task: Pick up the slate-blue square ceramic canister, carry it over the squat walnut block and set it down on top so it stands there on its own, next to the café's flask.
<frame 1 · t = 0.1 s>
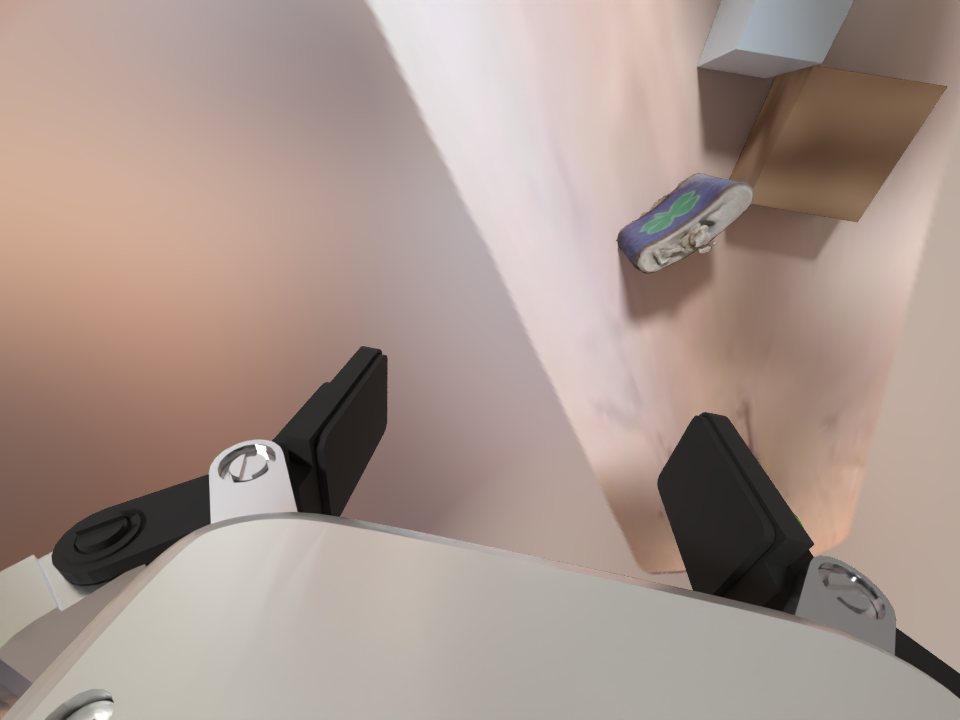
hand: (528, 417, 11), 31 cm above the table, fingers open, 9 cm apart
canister: (749, 27, 28), on the table
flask: (659, 214, 36), on the table
block: (797, 148, 32), on the table
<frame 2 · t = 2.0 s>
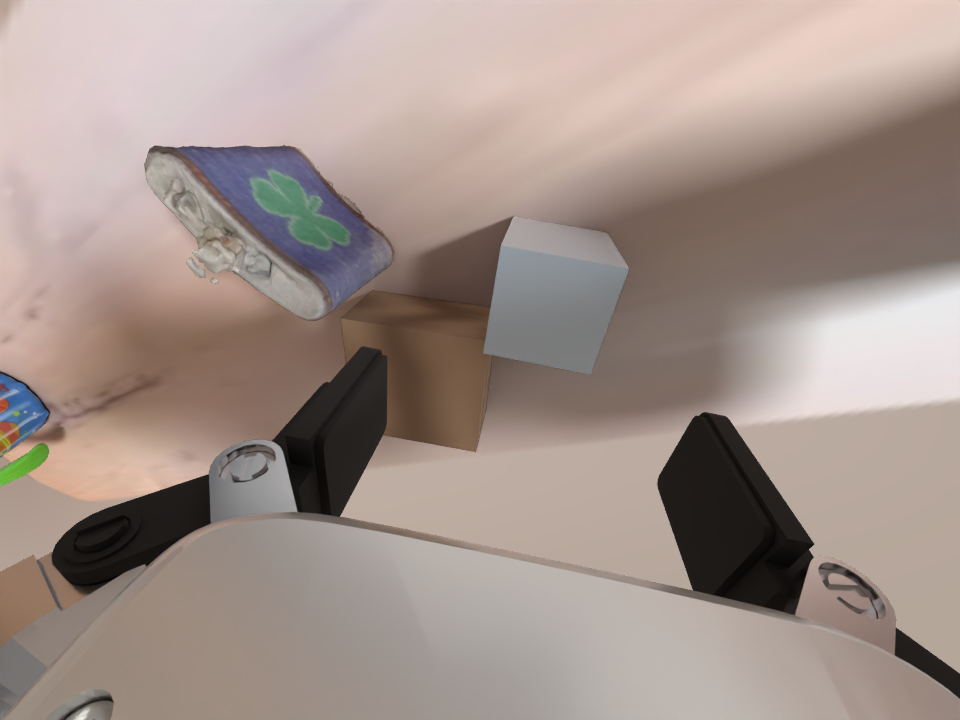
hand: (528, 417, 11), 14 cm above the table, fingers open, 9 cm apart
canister: (549, 269, 23), on the table
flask: (337, 211, 24), on the table
snack cup: (19, 395, 39), on the table
block: (434, 352, 28), on the table
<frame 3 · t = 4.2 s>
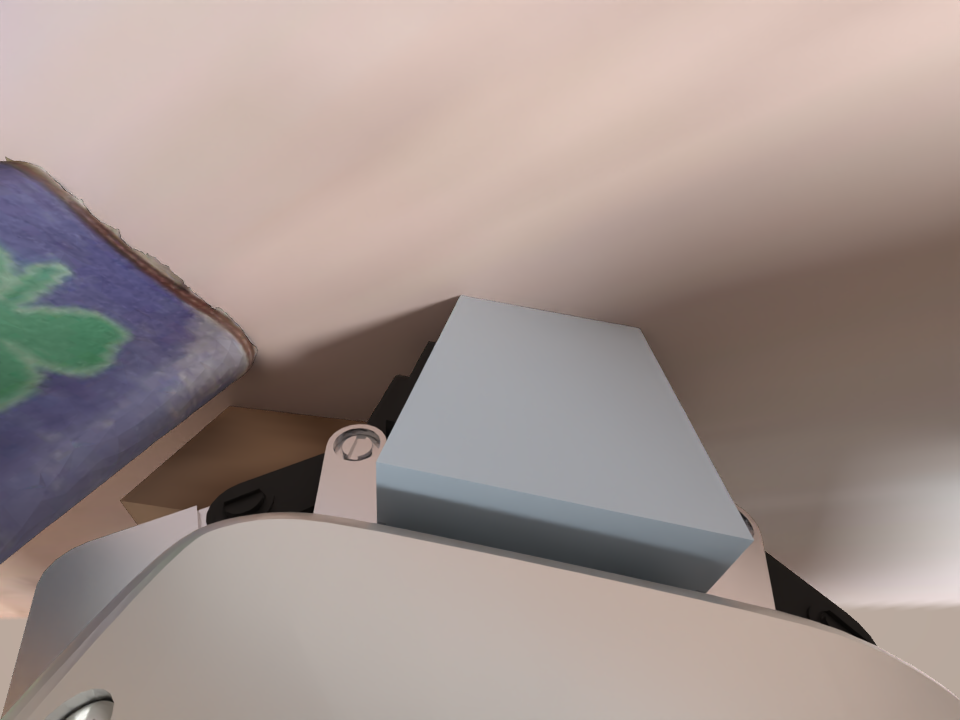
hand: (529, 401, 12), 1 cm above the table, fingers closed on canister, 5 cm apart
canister: (530, 384, 13), on the table, touching gripper
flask: (145, 277, 13), on the table
block: (350, 487, 18), on the table
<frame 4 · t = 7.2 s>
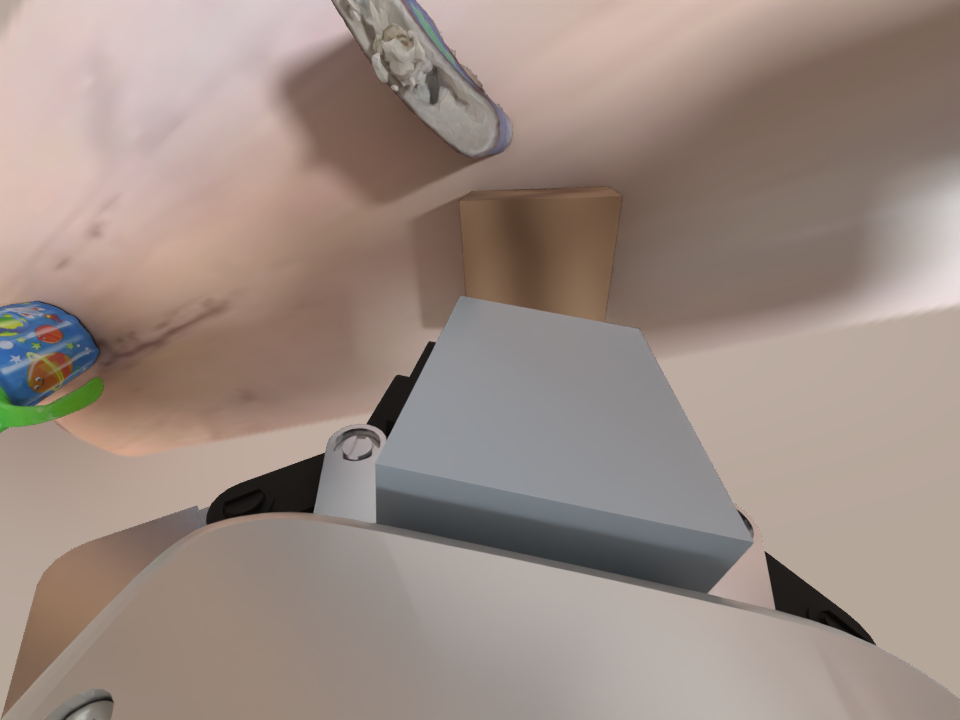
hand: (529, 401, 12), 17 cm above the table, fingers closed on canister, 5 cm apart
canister: (529, 385, 13), point 16 cm above the table, touching gripper
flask: (455, 87, 22), on the table
snack cup: (67, 332, 37), on the table
block: (536, 255, 27), on the table
when the fingers open (6 cm above the table, at t = 10.4 s): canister stays where it is, resting on block.
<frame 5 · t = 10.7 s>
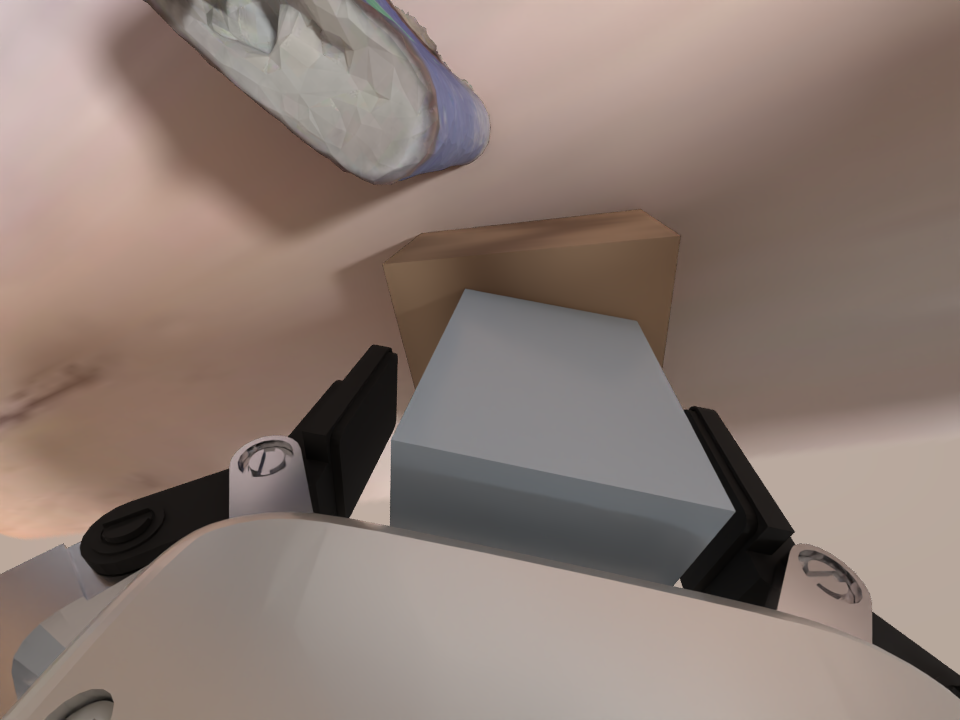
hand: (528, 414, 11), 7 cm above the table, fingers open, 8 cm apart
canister: (531, 375, 13), point 5 cm above the table, touching block
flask: (390, 50, 13), on the table
block: (531, 318, 18), on the table, touching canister
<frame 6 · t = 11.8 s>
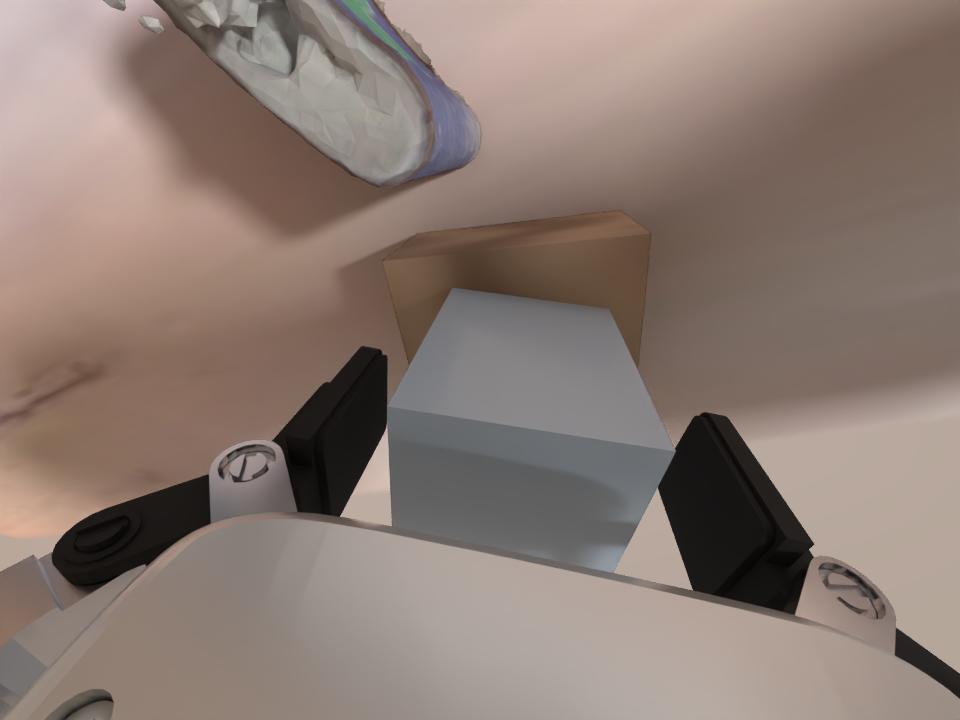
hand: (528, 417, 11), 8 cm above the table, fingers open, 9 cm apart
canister: (518, 364, 14), point 5 cm above the table, touching block
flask: (388, 63, 14), on the table
block: (521, 313, 19), on the table, touching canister
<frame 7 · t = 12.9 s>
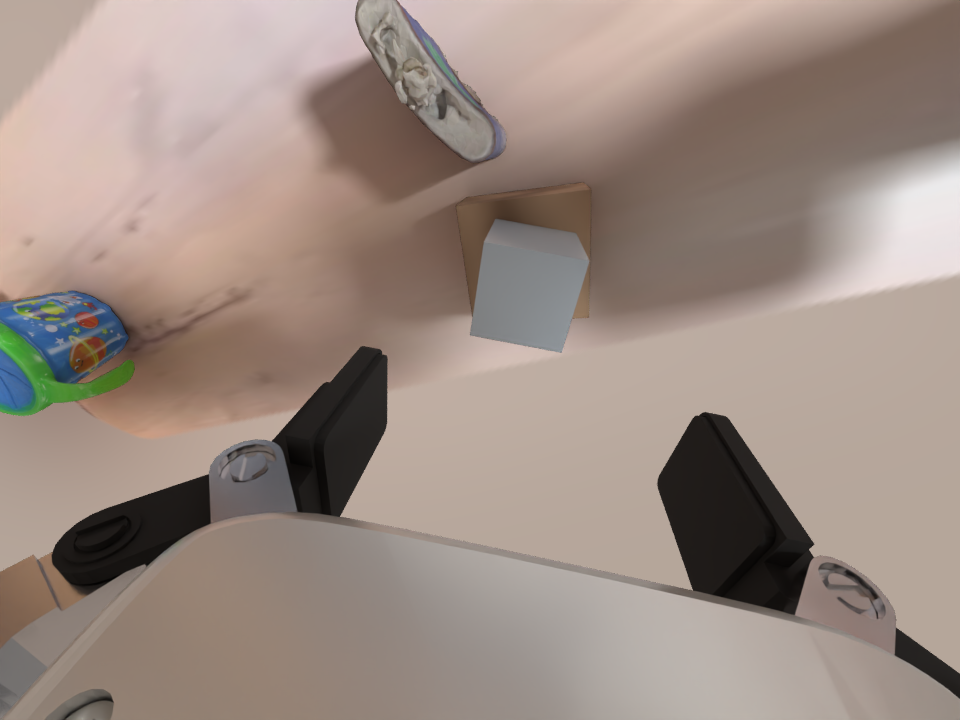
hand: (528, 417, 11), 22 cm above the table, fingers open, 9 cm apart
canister: (527, 265, 27), point 5 cm above the table
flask: (457, 101, 26), on the table
snack cup: (98, 320, 41), on the table
block: (527, 247, 31), on the table
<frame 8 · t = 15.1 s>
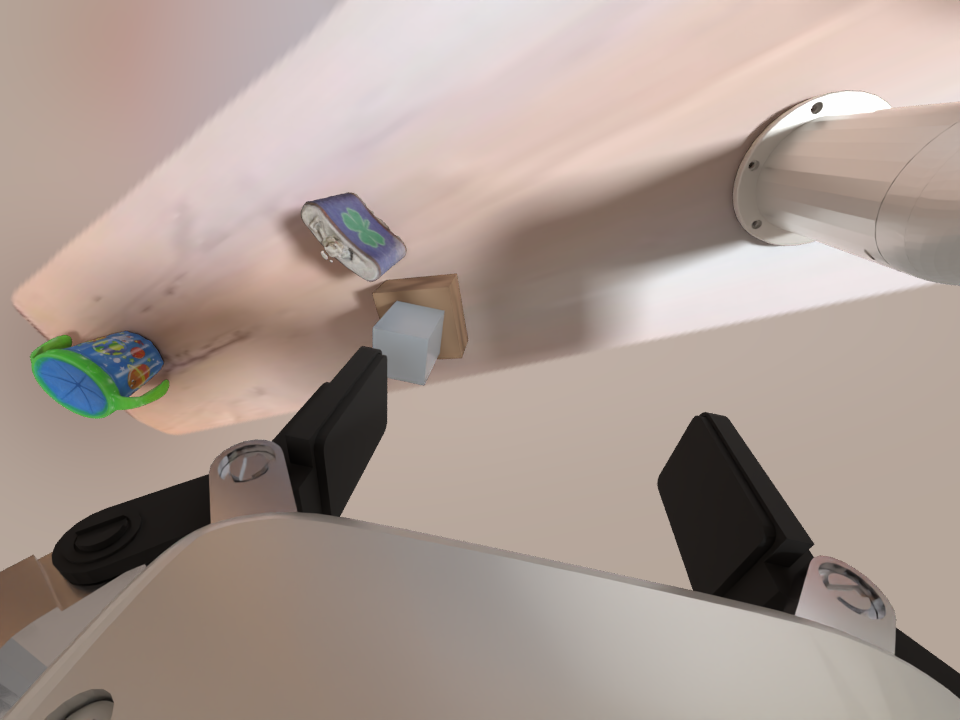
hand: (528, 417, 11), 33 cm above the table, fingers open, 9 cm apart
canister: (418, 327, 43), point 5 cm above the table
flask: (375, 226, 43), on the table
snack cup: (142, 350, 57), on the table
block: (429, 310, 47), on the table
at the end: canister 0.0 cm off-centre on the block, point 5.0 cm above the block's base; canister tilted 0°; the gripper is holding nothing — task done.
